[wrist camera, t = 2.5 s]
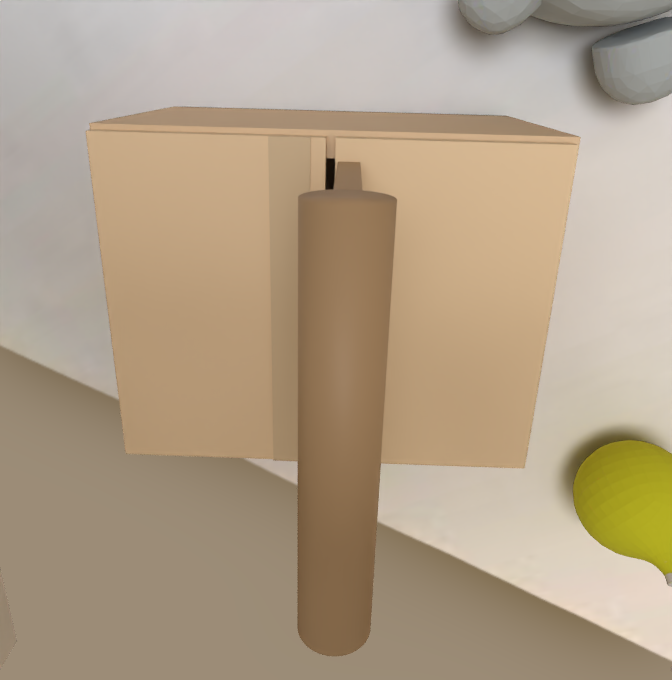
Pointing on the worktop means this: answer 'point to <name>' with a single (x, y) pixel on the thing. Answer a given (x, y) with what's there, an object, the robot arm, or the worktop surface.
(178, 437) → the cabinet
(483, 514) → the worktop surface
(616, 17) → the figurine
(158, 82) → the worktop surface
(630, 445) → the ornament
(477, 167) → the tan handled panel part
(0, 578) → the robot arm
